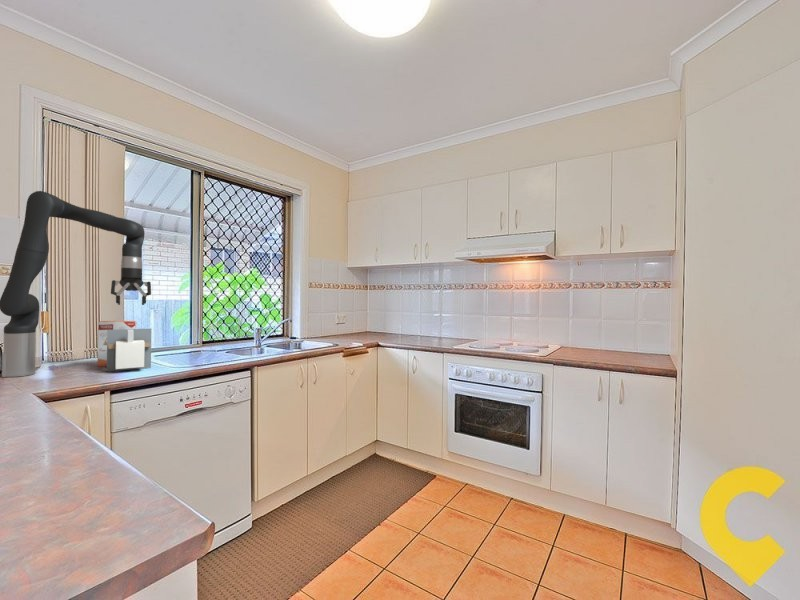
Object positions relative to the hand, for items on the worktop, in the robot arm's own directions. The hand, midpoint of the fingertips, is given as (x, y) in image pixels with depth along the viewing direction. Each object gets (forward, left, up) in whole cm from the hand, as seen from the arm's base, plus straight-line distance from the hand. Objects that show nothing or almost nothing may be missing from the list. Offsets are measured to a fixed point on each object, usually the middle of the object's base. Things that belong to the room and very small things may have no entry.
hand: (131, 304), depth 165 cm
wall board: (0, +6, -29) cm, 30 cm away
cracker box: (-4, +21, -29) cm, 36 cm away
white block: (0, +1, -27) cm, 27 cm away
